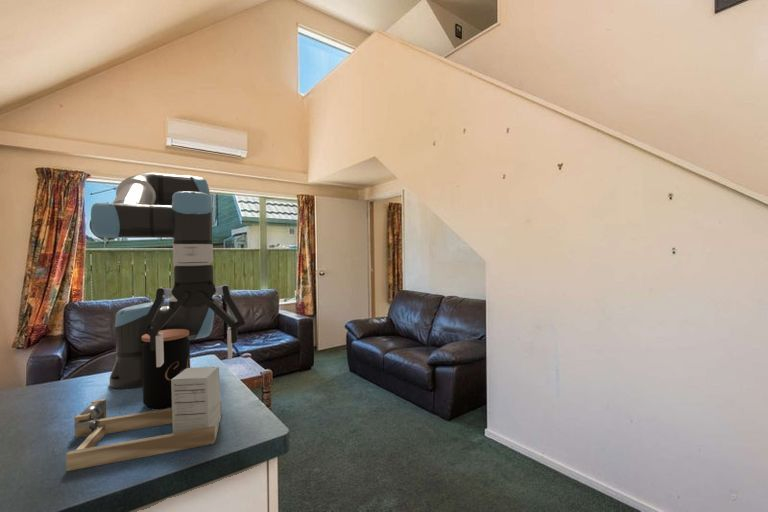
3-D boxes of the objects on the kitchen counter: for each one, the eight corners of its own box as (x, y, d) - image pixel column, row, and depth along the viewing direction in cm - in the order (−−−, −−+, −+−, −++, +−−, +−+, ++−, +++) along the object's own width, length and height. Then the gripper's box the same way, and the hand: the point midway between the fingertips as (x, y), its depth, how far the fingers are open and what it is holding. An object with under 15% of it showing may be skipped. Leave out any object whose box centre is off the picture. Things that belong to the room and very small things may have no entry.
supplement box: (188, 422, 79) (186, 367, 79) (221, 420, 80) (220, 365, 80) (171, 439, 72) (169, 378, 72) (208, 437, 73) (207, 377, 72)
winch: (92, 419, 82) (91, 399, 82) (117, 415, 84) (116, 396, 84) (65, 445, 71) (65, 423, 71) (95, 440, 73) (94, 418, 72)
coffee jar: (168, 412, 85) (166, 339, 85) (132, 409, 87) (130, 337, 87) (200, 394, 95) (198, 329, 95) (167, 392, 98) (165, 328, 97)
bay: (100, 432, 76) (100, 418, 76) (221, 413, 84) (221, 400, 84) (66, 471, 62) (66, 454, 62) (214, 443, 70) (214, 429, 70)
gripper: (118, 266, 68) (121, 374, 68) (255, 263, 76) (256, 359, 77) (131, 264, 75) (134, 362, 75) (255, 262, 83) (257, 349, 84)
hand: (196, 361), depth 76 cm, fingers open, 13 cm apart
